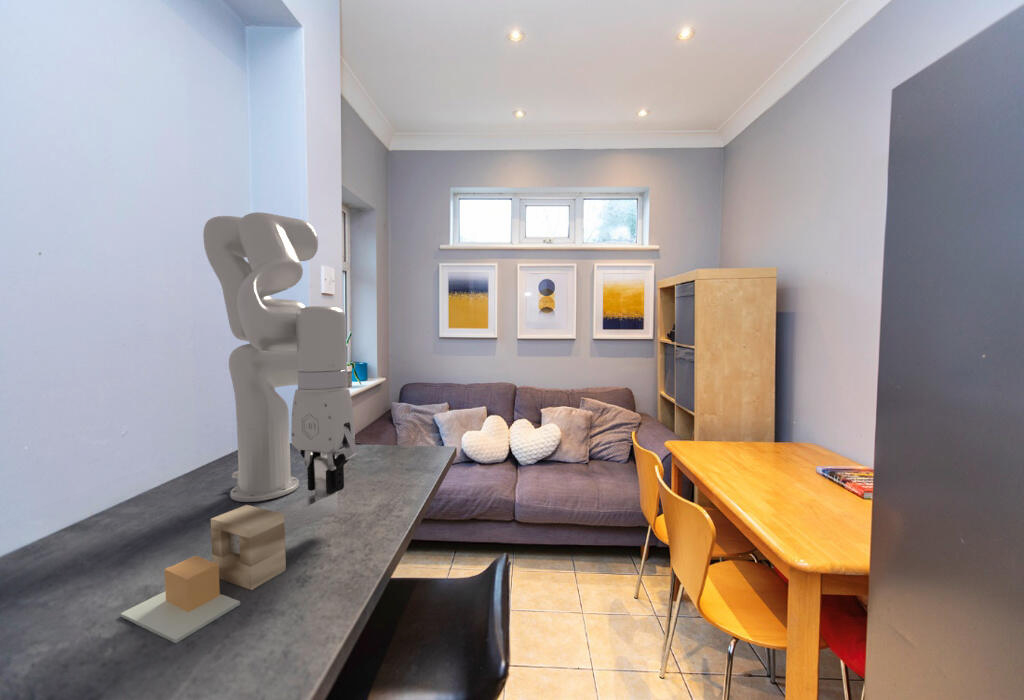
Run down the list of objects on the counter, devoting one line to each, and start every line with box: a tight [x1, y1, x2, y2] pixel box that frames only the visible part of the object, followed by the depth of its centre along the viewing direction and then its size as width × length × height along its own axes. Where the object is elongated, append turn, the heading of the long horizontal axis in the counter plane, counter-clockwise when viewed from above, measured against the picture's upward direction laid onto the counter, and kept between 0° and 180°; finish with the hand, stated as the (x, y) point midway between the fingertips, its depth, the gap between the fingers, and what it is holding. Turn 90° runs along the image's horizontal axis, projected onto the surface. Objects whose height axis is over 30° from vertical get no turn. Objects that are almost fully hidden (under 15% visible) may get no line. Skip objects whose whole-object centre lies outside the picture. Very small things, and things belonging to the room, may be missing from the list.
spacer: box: [164, 555, 221, 612], centre depth 52 cm, size 5×4×4 cm
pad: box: [120, 591, 241, 644], centre depth 51 cm, size 11×7×1 cm, turn 66°
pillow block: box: [210, 504, 287, 591], centre depth 58 cm, size 8×5×8 cm, turn 66°
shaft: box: [230, 454, 339, 555], centre depth 64 cm, size 3×17×9 cm, turn 156°
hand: (326, 488), depth 70 cm, fingers closed on shaft, 3 cm apart
